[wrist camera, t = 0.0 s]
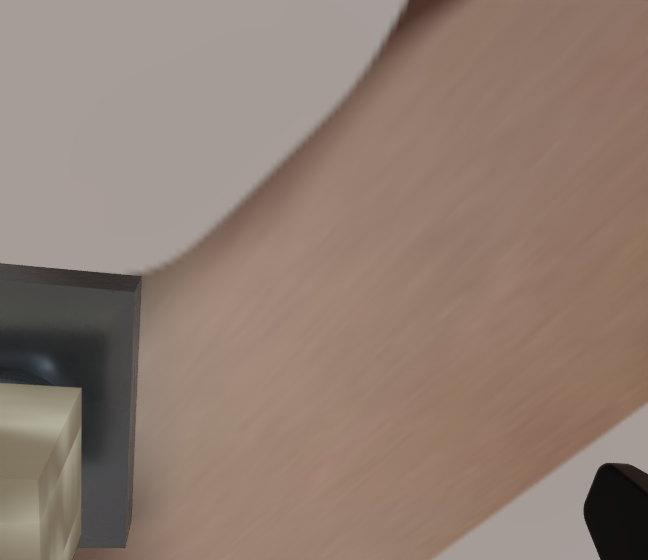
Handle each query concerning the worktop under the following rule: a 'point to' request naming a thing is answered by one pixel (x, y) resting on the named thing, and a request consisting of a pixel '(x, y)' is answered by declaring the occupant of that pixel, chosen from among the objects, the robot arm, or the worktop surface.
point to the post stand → (81, 374)
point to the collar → (40, 471)
